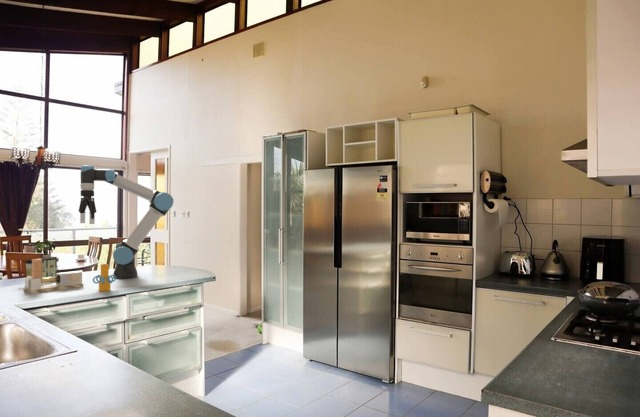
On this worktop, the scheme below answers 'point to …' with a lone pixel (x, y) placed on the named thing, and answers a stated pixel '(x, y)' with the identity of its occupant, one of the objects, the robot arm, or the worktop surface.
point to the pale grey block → (69, 278)
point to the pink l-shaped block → (38, 272)
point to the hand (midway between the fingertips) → (87, 223)
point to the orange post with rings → (104, 278)
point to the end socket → (32, 283)
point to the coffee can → (49, 267)
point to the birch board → (52, 288)
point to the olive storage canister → (30, 267)
